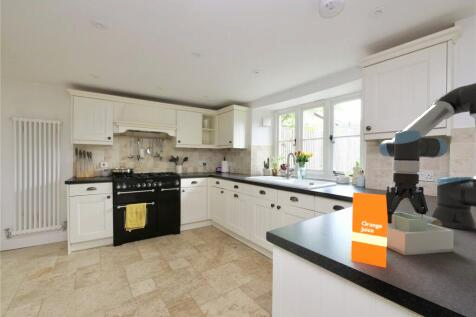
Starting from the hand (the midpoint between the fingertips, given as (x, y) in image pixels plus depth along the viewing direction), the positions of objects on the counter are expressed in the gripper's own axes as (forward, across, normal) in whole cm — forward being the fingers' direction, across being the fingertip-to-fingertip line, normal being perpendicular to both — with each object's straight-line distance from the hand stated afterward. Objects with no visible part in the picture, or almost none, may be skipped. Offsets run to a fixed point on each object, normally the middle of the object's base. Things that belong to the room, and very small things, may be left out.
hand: (403, 231), depth 80 cm
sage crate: (+3, 0, 0) cm, 3 cm away
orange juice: (+4, +24, +9) cm, 26 cm away
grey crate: (+4, 0, 0) cm, 4 cm away
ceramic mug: (+4, -21, -7) cm, 22 cm away
